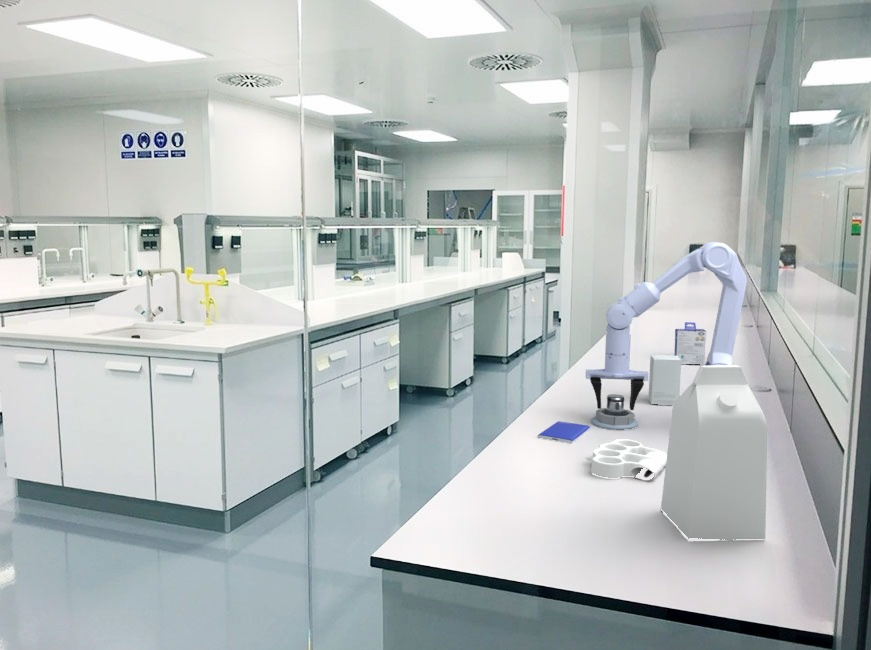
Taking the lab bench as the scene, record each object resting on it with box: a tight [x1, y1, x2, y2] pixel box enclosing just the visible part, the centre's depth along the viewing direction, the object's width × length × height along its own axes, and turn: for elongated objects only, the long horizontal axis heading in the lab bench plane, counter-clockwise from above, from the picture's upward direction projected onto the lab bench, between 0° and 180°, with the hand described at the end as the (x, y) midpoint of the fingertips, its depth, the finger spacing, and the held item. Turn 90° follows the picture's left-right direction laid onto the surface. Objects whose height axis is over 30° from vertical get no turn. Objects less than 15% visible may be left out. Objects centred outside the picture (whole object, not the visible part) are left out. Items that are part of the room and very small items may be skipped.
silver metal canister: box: [606, 393, 625, 416], centre depth 169 cm, size 4×5×6 cm
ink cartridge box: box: [673, 321, 707, 366], centre depth 245 cm, size 10×6×14 cm, turn 81°
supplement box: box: [647, 354, 682, 407], centre depth 190 cm, size 7×7×13 cm
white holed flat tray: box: [585, 438, 667, 481], centre depth 139 cm, size 3×18×15 cm
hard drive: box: [537, 420, 591, 444], centre depth 161 cm, size 2×8×12 cm
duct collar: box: [591, 407, 639, 431], centre depth 170 cm, size 11×11×3 cm
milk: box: [660, 364, 768, 540], centre depth 110 cm, size 12×12×26 cm
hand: (615, 408), depth 169 cm, fingers open, 7 cm apart
